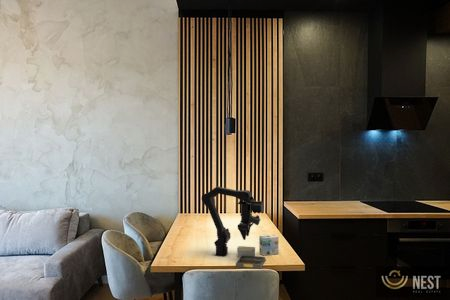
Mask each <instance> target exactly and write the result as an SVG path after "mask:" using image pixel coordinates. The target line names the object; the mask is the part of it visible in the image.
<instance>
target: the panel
mask: <svg viewBox="0 0 450 300" xmlns="http://www.w3.org/2000/svg"><path fill="white" fill-rule="evenodd" d="M236 252H237V253H236V254H237V255H236V256H237V257H236V258H237V259H239V258H240V257H241V256H242V255H243V256H256V247H255V246H241V245H239V246H237V249H236Z"/></svg>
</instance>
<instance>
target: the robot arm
mask: <svg viewBox="0 0 450 300" xmlns="http://www.w3.org/2000/svg"><path fill="white" fill-rule="evenodd" d="M219 194H220V195H224V196H227V197H228V196H229V197H234V198H236V199H238V200H239V201H238V202H237V205H240V208H241V209H240V217H241V219H240V222H239V224H237V230H239V233H240V236H241V237H242V240H244V241H246V238H247V237H249V235H250V233H251V232H250V231H251V228H252V226H253V225H255V226H259V224H260V223H261V222H260V221H261V218H260V215H258V214H257V215H255V216H254V215H253V214H252V213H259V214H263V213H264V207H265V206H264V203H263V200H256V199H255V198H254V196H253V195H252V192H251V191H250V190H243V189H242V190H241V189H240V190H236V189H232V188H227V187H223V186H216V187H214V188H213V189H211V190H210V191H208V192H206V193H203V194H202V195H201V202H202V203H203V205H204V206H205V207H206V208H207V210H208V211H209V214H210V216H211V219H212V221H213V223H214V226H215V229H216V237H217V238H216V240H215V241H214V246H215V254H214V256H218V257H226V256H227V255H228V254H229V253H228V252H229V251H228V250H229V249H228V248H229V247H228V242H229V241H230V240H231V232H230V229H229V228H226V227H225V226H224V224H223V221H222V219H221V216H220V214H219V211H218V210H217V207H216V198H215V197H218V195H219Z"/></svg>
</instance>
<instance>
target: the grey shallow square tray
mask: <svg viewBox="0 0 450 300" xmlns="http://www.w3.org/2000/svg"><path fill="white" fill-rule="evenodd" d="M265 262H266V256H259V255H258V256H256V255H255V256H243V255H242V256H241V257H240V258H238V259H237V261H236V262H235V267H236V268H246V269H247V268H249V269H262V268H263V266H264V265H265V264H264V263H265Z"/></svg>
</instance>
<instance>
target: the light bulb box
mask: <svg viewBox="0 0 450 300" xmlns="http://www.w3.org/2000/svg"><path fill="white" fill-rule="evenodd" d="M258 238H259V239H258V240H259V242H258V243H259V246H258V247H259V250H258V251H259V254H260V255H262V256H273V255H279V253H280V252H279V251H280V250H279V248H280V247H279V240H280V239H279V236H278V235H276V234H264V235H259V237H258Z"/></svg>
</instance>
